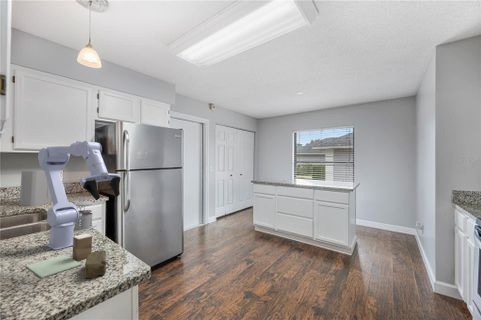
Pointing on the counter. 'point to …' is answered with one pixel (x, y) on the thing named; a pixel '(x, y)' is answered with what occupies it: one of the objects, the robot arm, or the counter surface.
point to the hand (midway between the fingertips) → (108, 197)
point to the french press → (84, 217)
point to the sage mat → (53, 266)
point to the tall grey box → (34, 188)
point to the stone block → (95, 264)
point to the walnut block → (81, 246)
